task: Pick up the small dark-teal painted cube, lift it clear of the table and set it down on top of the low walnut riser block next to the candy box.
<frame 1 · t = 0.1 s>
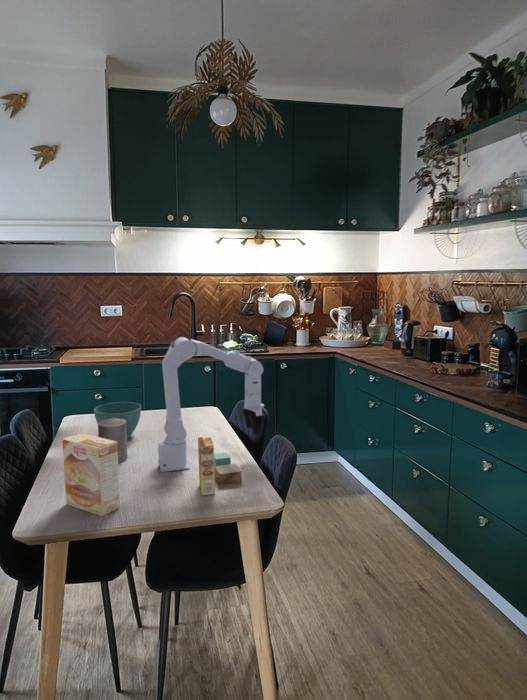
hand: (253, 430, 182), 10 cm above the table, fingers open, 7 cm apart
pillar candle: (113, 459, 183), on the table
walnut riser: (228, 480, 164), on the table
candy box: (206, 489, 157), on the table
green bowl: (119, 437, 208), on the table
teal cube: (221, 470, 172), on the table
coffeecake box: (93, 506, 146), on the table
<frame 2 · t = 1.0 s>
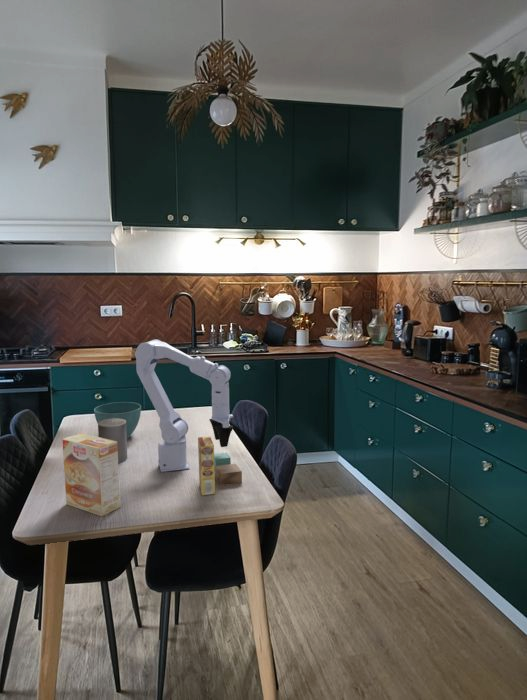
hand: (221, 442, 171), 9 cm above the table, fingers open, 7 cm apart
nothing on the table moved.
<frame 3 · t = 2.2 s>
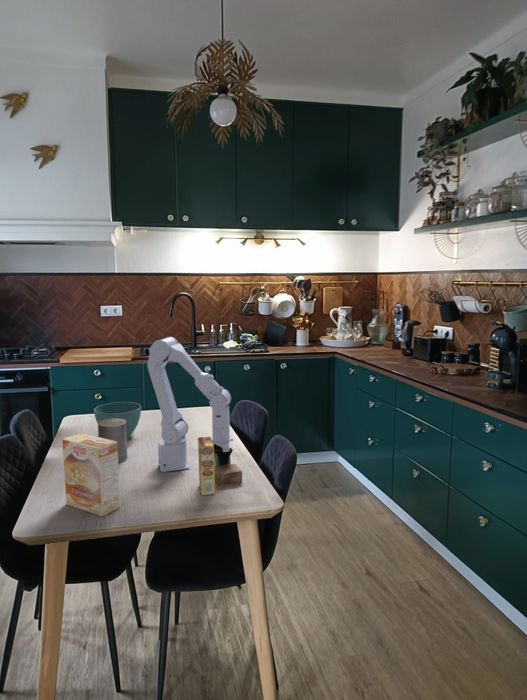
hand: (221, 465, 172), 1 cm above the table, fingers closed on teal cube, 5 cm apart
teal cube: (221, 469, 172), on the table, touching gripper
everything else where it was.
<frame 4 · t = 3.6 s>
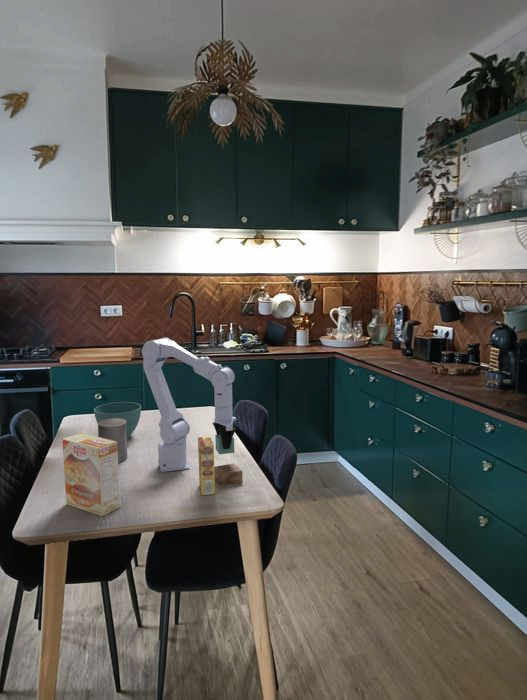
hand: (224, 446, 167), 10 cm above the table, fingers closed on teal cube, 5 cm apart
teal cube: (224, 451, 168), point 8 cm above the table, touching gripper
everything else where it was.
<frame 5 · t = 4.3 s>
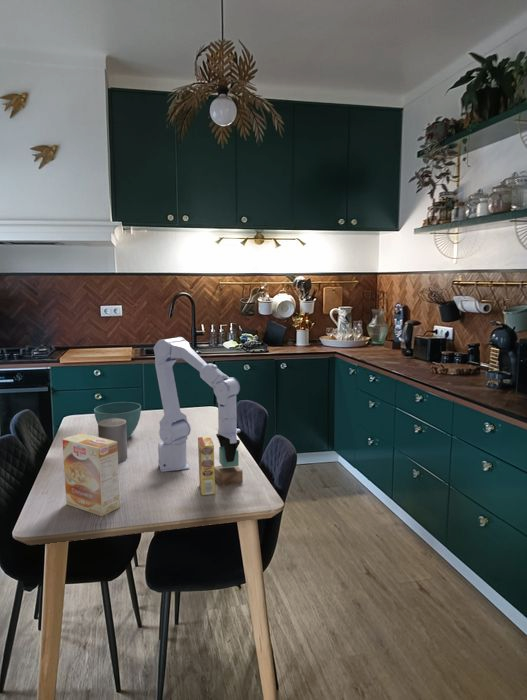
hand: (228, 458, 163), 7 cm above the table, fingers closed on teal cube, 5 cm apart
teal cube: (228, 463, 163), point 5 cm above the table, touching gripper
everything else where it was.
when the fingers open (6 cm above the table, at t = 5.0 s): teal cube stays where it is, resting on walnut riser.
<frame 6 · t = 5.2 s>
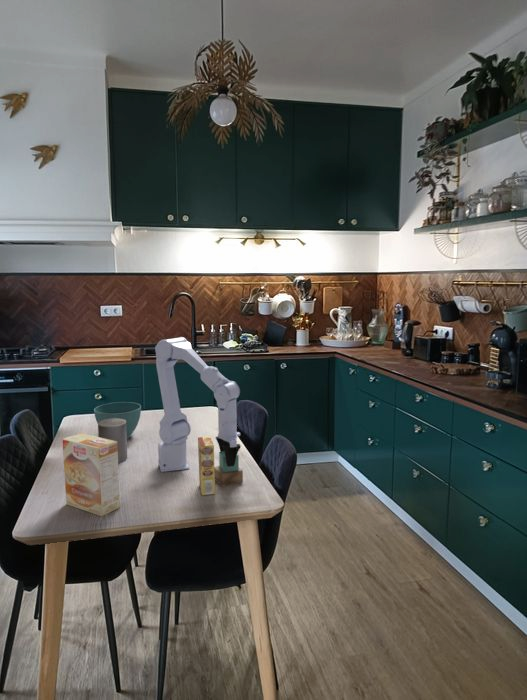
hand: (227, 462, 163), 6 cm above the table, fingers open, 6 cm apart
walnut riser: (228, 480, 164), on the table, touching teal cube
teal cube: (228, 468, 164), point 4 cm above the table, touching walnut riser
everything else where it was.
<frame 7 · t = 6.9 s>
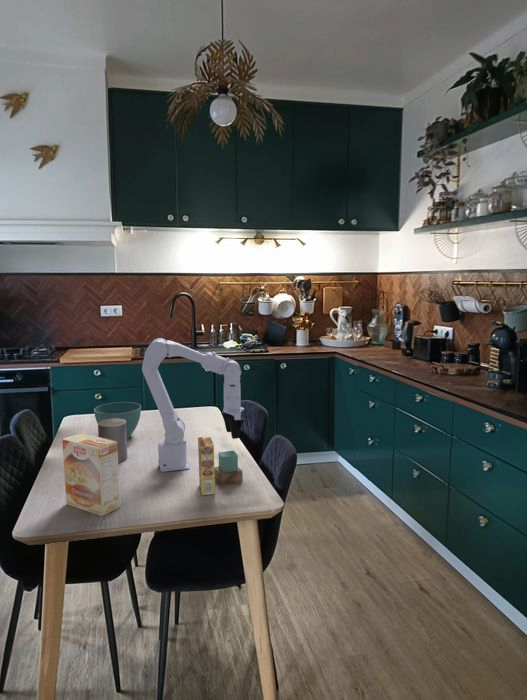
hand: (232, 435, 176), 10 cm above the table, fingers open, 7 cm apart
nothing on the table moved.
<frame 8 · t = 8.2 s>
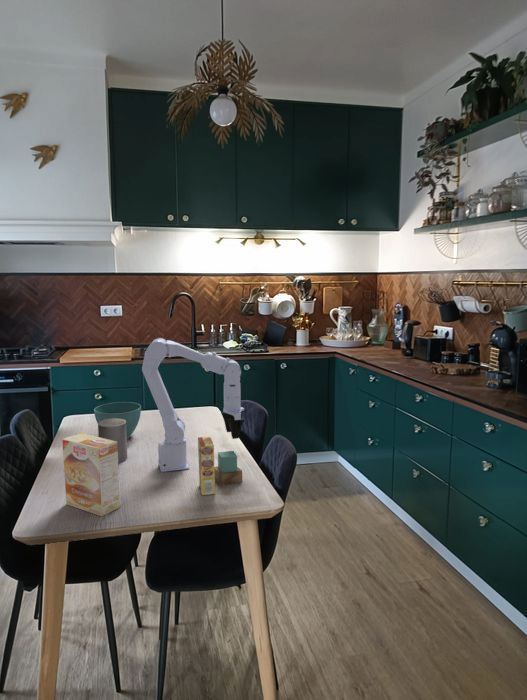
hand: (232, 434, 176), 10 cm above the table, fingers open, 7 cm apart
walnut riser: (227, 480, 164), on the table
teal cube: (227, 469, 163), point 4 cm above the table
everything else where it was.
at the end: teal cube 0.3 cm off-centre on the walnut riser, point 4.0 cm above the walnut riser's base; teal cube tilted 0°; the gripper is holding nothing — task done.
